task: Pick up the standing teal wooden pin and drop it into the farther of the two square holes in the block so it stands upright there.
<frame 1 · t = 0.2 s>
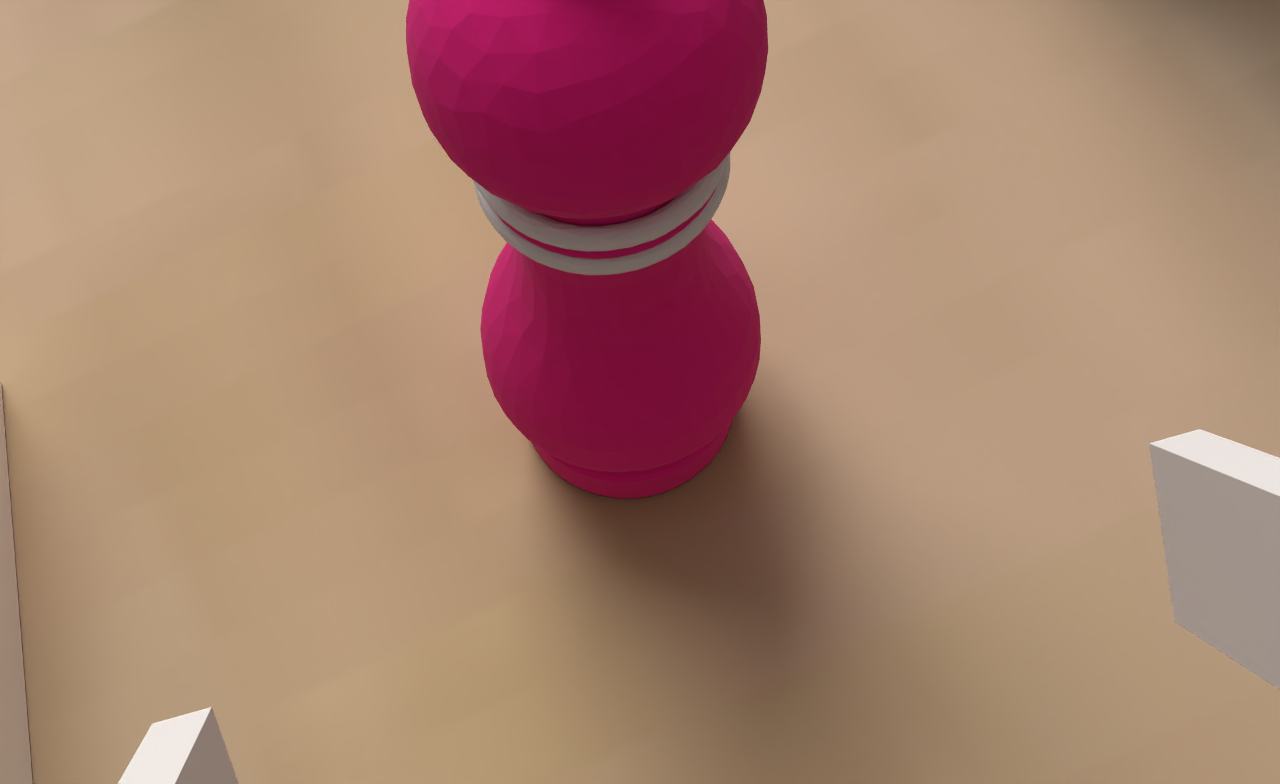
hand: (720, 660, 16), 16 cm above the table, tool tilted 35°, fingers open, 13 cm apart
pepper mill: (628, 401, 34), on the table
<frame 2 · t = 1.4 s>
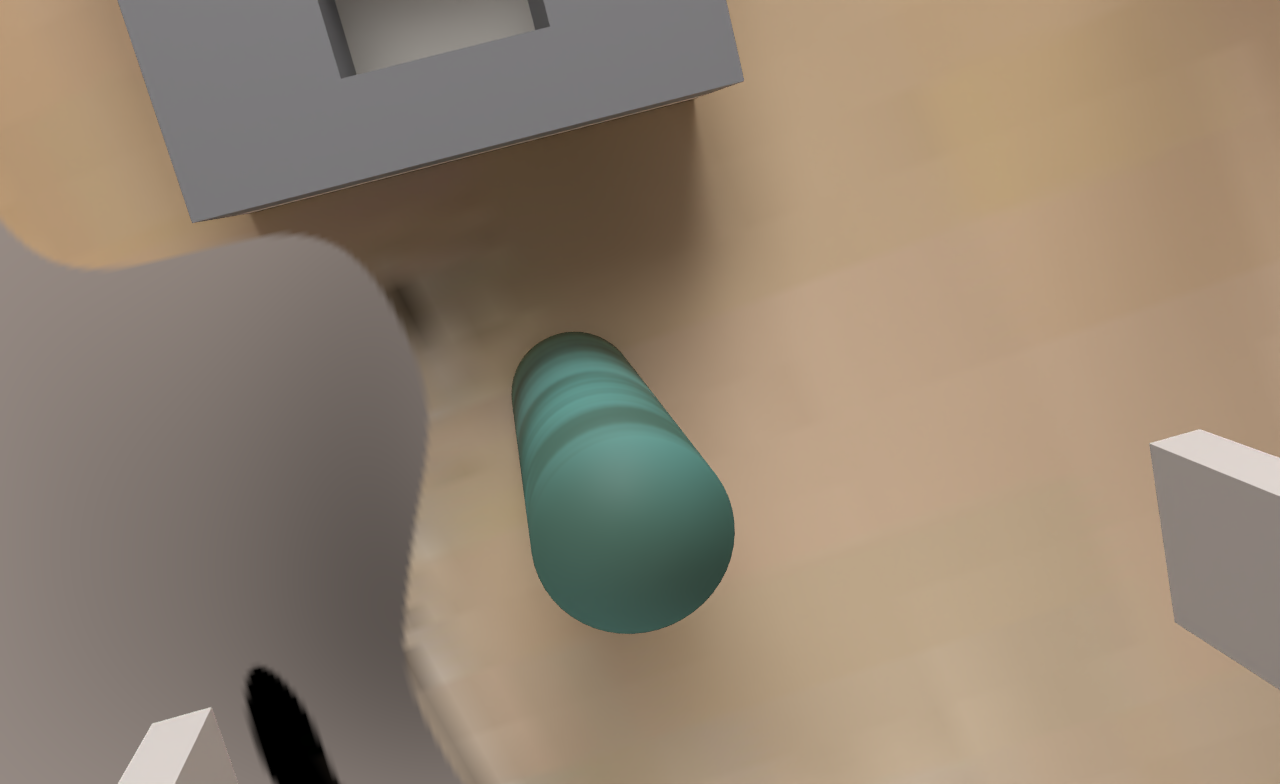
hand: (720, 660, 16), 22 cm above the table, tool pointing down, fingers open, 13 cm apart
pin: (574, 393, 37), on the table
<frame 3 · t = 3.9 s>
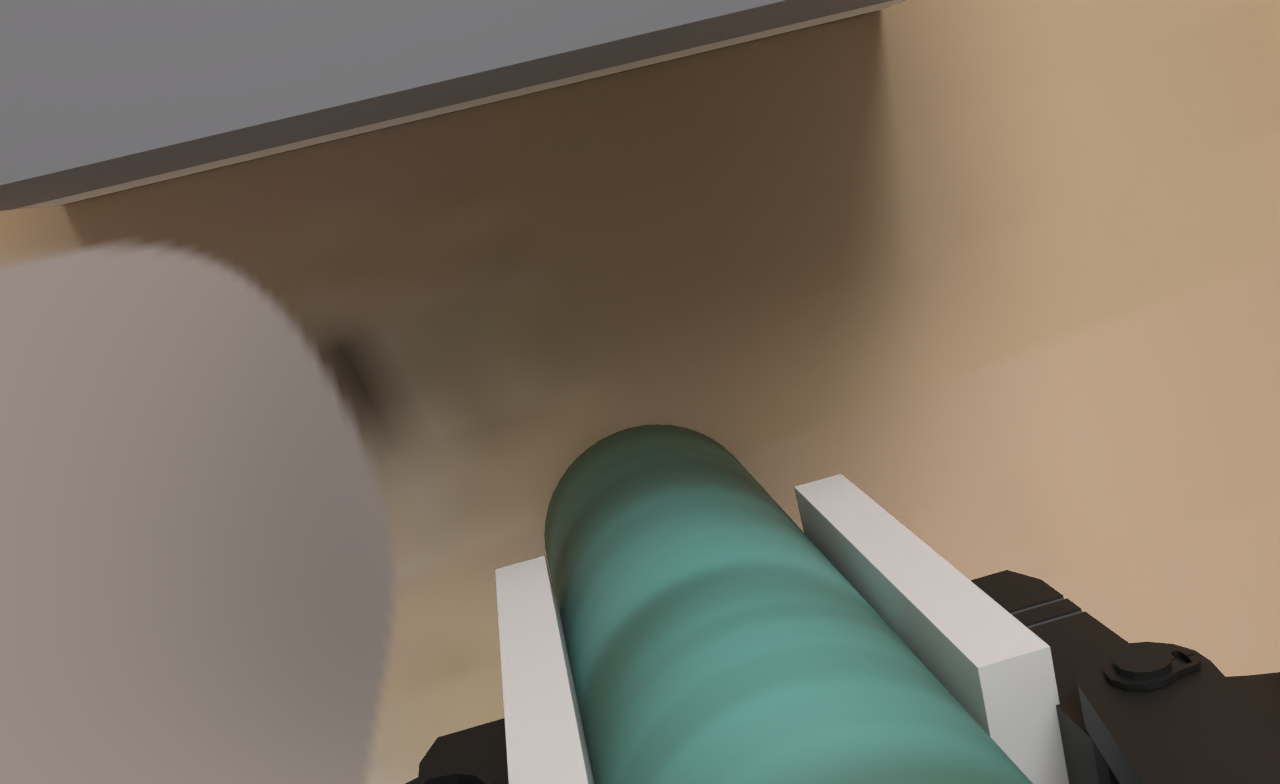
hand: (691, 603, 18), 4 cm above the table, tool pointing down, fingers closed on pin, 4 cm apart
pin: (654, 531, 21), on the table, touching gripper
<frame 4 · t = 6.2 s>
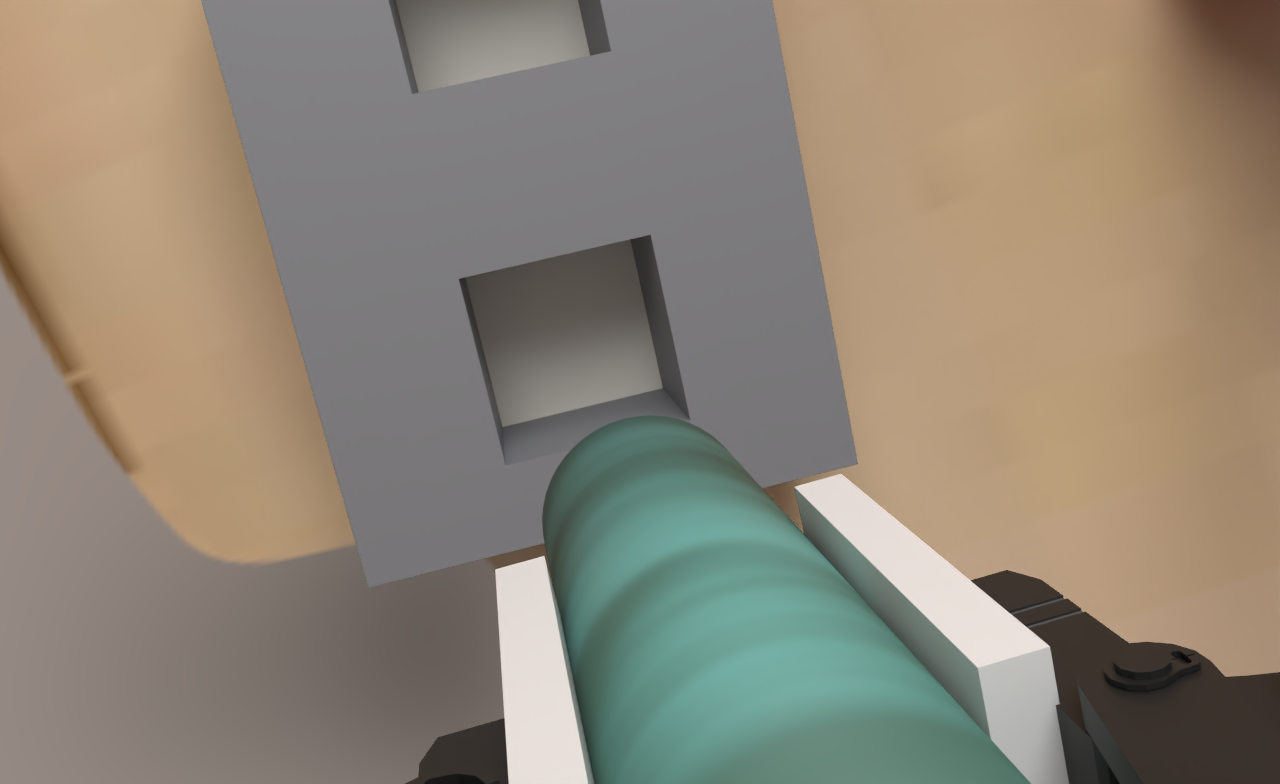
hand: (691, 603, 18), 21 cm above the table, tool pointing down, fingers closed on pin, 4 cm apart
pin: (647, 518, 22), point 17 cm above the table, touching gripper
hole block: (524, 168, 37), on the table
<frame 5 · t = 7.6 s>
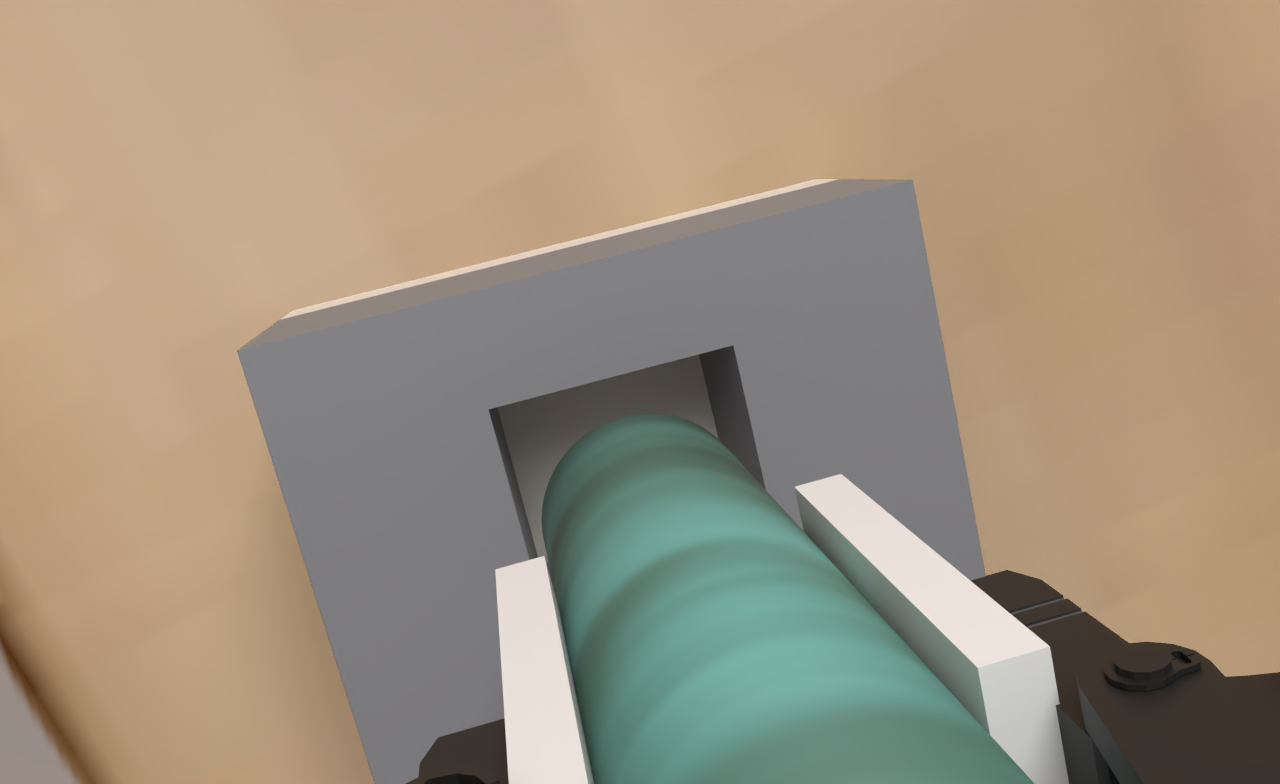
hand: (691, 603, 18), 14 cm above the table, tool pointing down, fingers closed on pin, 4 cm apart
pin: (646, 516, 22), point 9 cm above the table, touching gripper
hole block: (648, 594, 32), on the table
when the fingers open (9 cm above the table, at t = 8.7 s): pin drops 2 cm, resting on hole block.
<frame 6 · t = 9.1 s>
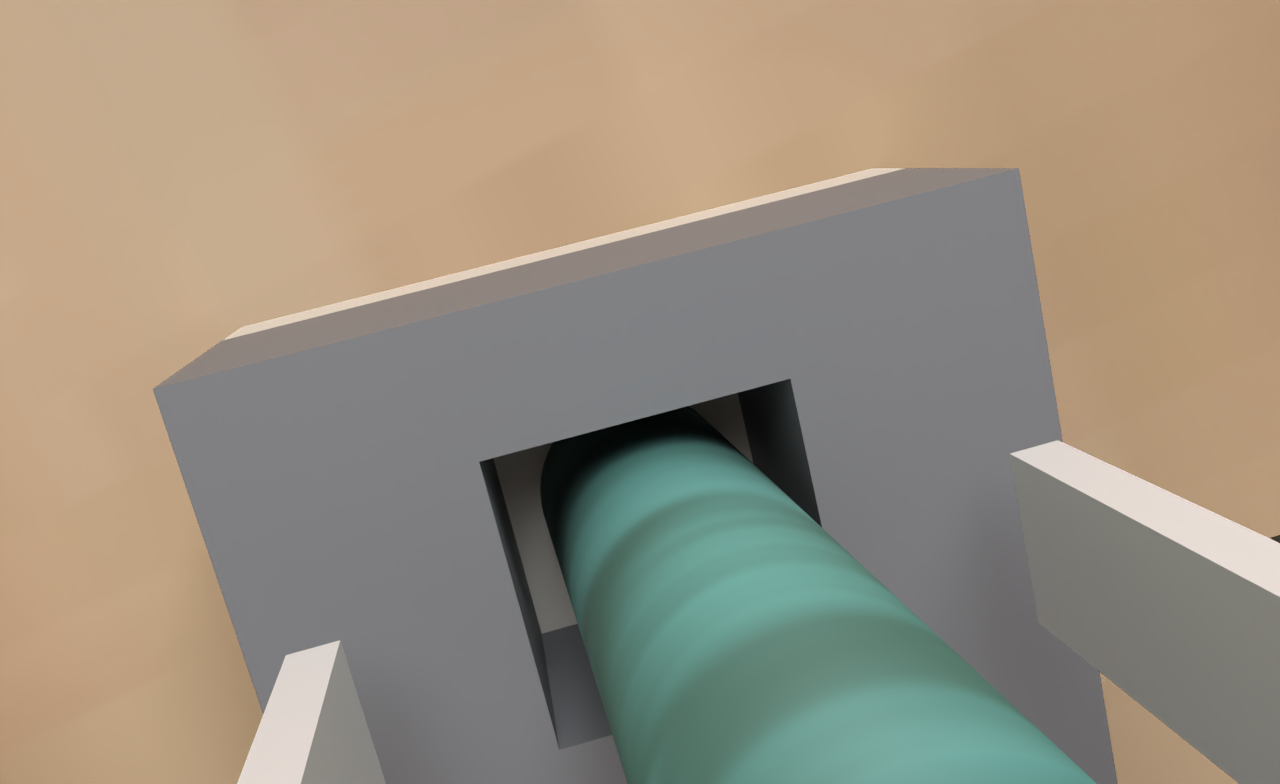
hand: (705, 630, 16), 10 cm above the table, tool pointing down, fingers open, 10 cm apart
pin: (636, 486, 24), point 2 cm above the table, touching hole block
hole block: (669, 662, 27), on the table
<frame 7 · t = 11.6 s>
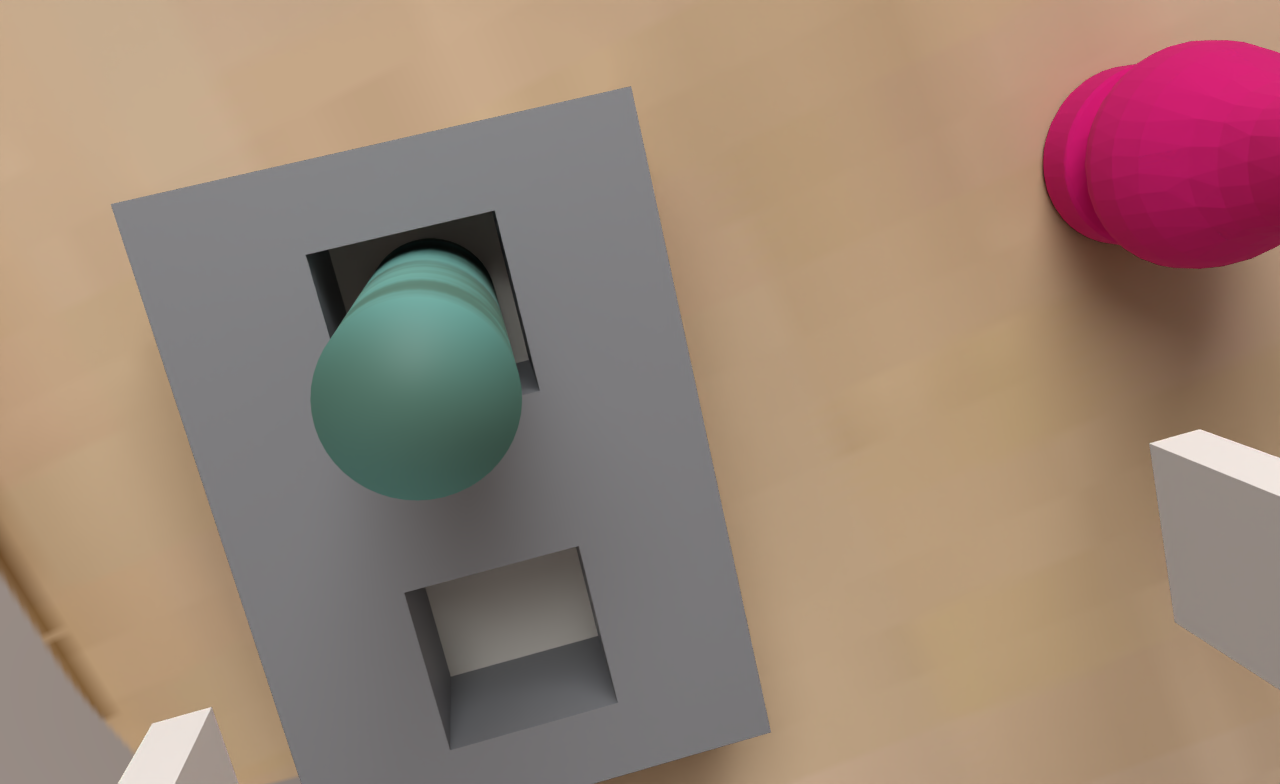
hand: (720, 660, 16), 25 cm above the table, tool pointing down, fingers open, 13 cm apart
pin: (432, 301, 37), point 2 cm above the table, touching hole block
hole block: (468, 434, 40), on the table
pepper mill: (1119, 155, 42), on the table
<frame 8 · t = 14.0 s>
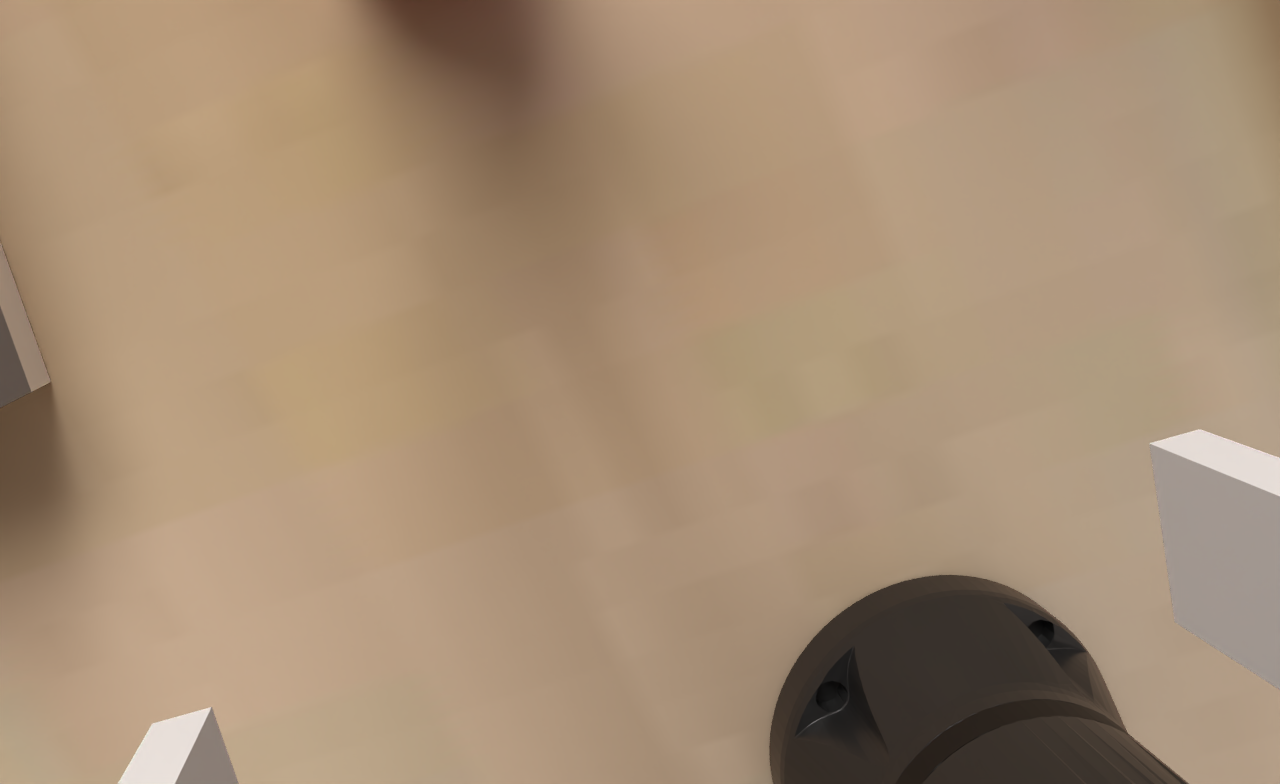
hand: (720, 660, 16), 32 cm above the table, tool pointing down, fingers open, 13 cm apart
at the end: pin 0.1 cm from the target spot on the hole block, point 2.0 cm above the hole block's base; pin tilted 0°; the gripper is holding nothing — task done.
